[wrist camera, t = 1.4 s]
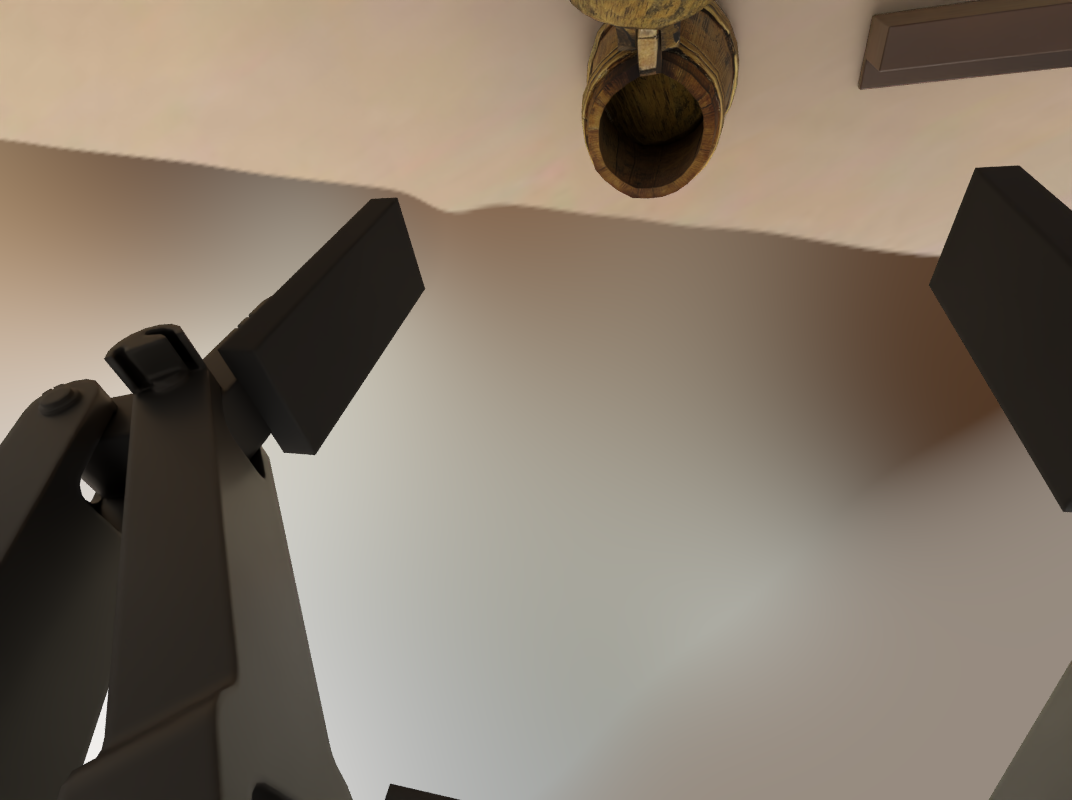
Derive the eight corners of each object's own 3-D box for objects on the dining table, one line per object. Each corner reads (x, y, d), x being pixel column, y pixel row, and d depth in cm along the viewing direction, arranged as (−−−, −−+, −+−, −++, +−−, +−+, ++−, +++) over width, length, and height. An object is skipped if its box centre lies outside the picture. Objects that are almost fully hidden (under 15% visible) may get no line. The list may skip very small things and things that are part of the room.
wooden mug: (764, -141, 26) (832, -171, 13) (728, 151, 35) (749, 300, 22) (581, -112, 28) (489, -116, 15) (592, 157, 37) (539, 296, 24)
